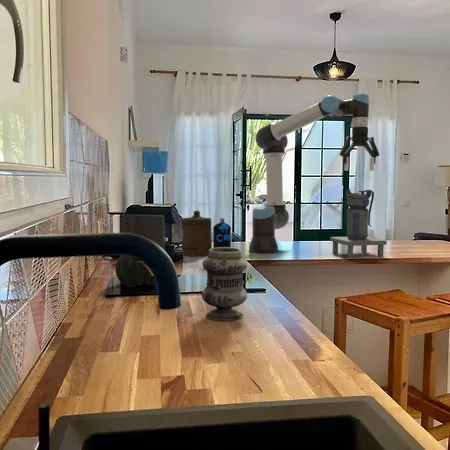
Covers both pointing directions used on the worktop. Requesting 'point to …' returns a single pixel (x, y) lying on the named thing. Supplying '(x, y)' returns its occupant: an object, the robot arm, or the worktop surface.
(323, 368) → the worktop surface
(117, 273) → the squash
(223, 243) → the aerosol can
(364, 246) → the stool
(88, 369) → the worktop surface
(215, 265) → the apothecary jar
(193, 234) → the wooden container
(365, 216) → the beverage bottle
